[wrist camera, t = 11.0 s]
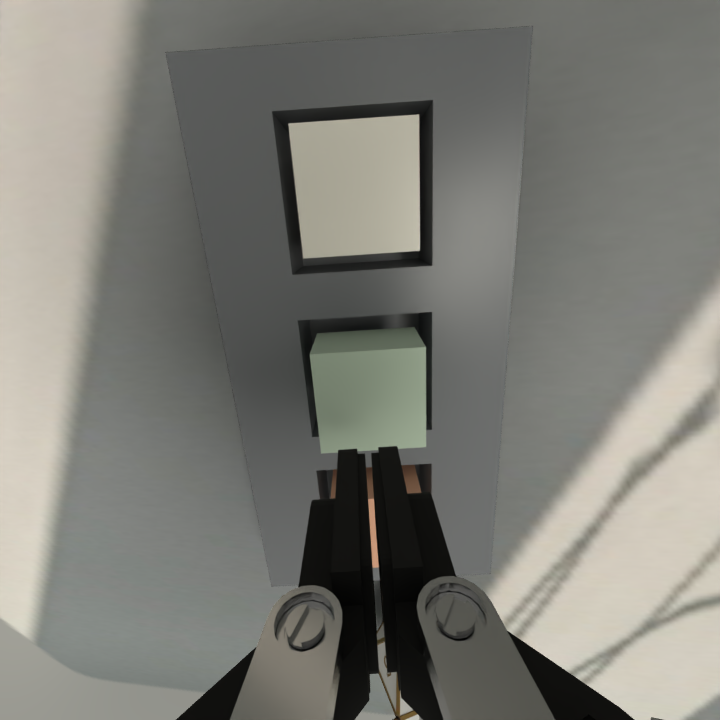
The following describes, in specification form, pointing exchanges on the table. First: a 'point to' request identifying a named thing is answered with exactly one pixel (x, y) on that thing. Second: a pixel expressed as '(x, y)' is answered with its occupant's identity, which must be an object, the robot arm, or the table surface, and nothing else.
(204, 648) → the table surface
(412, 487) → the terracotta key
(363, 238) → the ivory key
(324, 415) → the sage key
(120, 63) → the table surface
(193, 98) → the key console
